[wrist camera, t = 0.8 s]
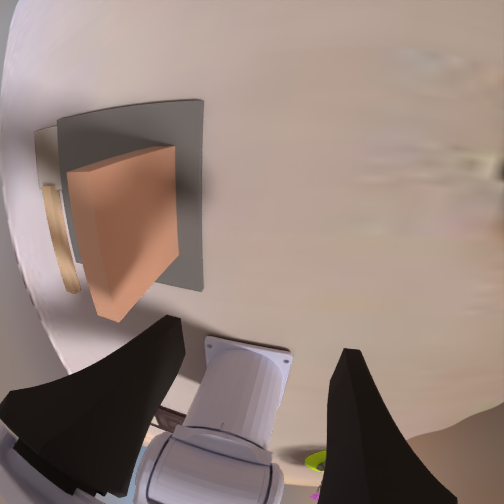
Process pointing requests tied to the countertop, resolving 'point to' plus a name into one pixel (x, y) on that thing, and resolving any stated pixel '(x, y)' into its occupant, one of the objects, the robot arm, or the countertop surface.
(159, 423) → the chocolate bar
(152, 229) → the tile
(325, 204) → the countertop surface
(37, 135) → the turner
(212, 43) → the countertop surface
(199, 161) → the mat
